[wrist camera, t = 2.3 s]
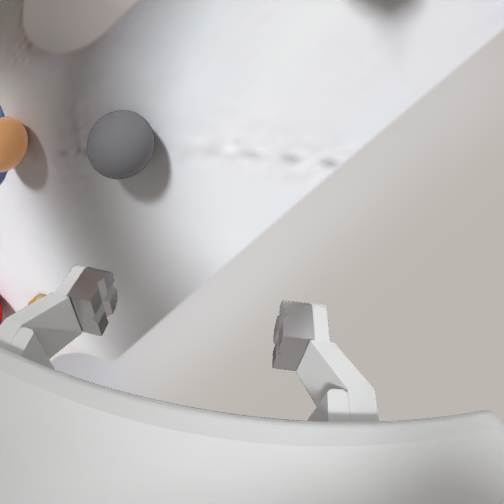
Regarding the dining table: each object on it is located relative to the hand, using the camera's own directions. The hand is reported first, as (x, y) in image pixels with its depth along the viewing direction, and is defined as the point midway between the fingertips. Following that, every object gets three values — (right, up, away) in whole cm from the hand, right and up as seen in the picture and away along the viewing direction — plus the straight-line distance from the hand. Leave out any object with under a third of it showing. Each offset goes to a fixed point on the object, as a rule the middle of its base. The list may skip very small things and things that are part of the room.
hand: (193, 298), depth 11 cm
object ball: (-22, +12, +11) cm, 28 cm away
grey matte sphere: (-8, +10, +11) cm, 17 cm away
